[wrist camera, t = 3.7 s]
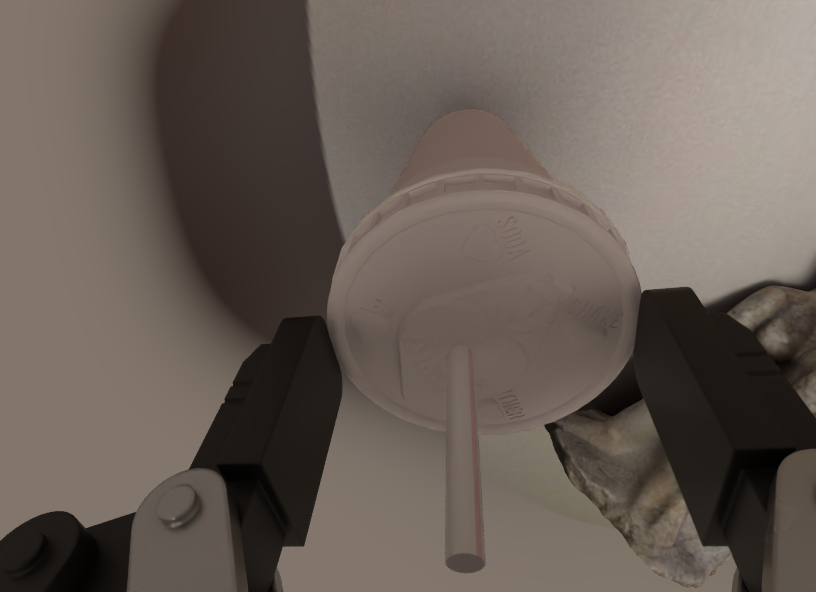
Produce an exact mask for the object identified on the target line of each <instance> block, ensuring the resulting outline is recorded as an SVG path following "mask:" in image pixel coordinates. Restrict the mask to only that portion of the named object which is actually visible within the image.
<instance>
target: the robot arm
mask: <svg viewBox="0 0 816 592" xmlns="http://www.w3.org/2000/svg"><path fill="white" fill-rule="evenodd" d="M634 369H635V375H636V379H637V383H638V386H639V388H640V391H641V393H642V396H643V398H644V401H645V403H646V406H647V408H648V411H649V413H650V416H651V418H652V421H653V423H654V426H655V428H656V431H657V433H658V436H659V438H660V441H661V443H662V446H663V448H664V451H665V453H666V456H667V458H668V461H669V463H670V466H671V468H672V471H673V473H674V476H675V478H676V481H677V483H678V486H679V488H680V491H681V493H682V496H683V498H684V501H685V503H686V506H687V508H688V511H689V513H690V516H691V518H692V521H693V523H694V526H695V528H696V531H697V533H698V536H699V538H700V541H701V543H702V546H728V547H729V549H730V552H731V554H732V556H733V558H734V561H735V563H736V565H737V569H736V571H735V574H734V578H733V584H732V592H816V417H815V416H814V415H813V413H812V412H811V411H810V409H809V408H808V407H807V405H806V404H805V403H804V401H803V400H802V399H801V397H800V396H799V395H798V393H797V392H796V390H795V389H794V388H793V386H792V385H791V384H790V382H789V381H788V380H787V378H786V377H785V376H784V375H781V373H780V369H779V368H778V366H777V365H776V363H775V362H774V361H773V359H772V358H771V357H770V356H767V351H766V350H765V349H764V347H763V346H762V345H761V343H760V342H759V341H758V339H757V338H756V337H755V335H754V334H753V332H752V331H751V330H750V329H749V328H747V327H746V326H744V325H743V324H741V323H740V322H738V321H737V320H735V319H734V318H732V317H731V316H729V315H728V314H726V313H725V312H716V313H708V312H707V311H706V309H705V308H704V306H703V305H702V303H701V302H700V300H699V299H698V297H697V296H696V294H695V293H694V291H693V290H692V289H691V288H689V287H679V288H666V289H654V290H645V291H643V293H642V295H641V299H640V306H639V314H638V322H637V330H636V338H635V346H634ZM341 398H342V376H341V370H340V367H339V364H338V361H337V357H336V354H335V351H334V348H333V345H332V342H331V339H330V336H329V333H328V330H327V327H326V324H325V321H324V319H323V318H322V317H321V316H307V317H295V318H285V319H283V320H282V322H281V323H280V325H279V328H278V330H277V332H276V334H275V337H274V338H273V341H272V343H271V344H261V345H260V346H259V347H258V348H257V349H256V350H255V351H254V352H253V353H252V354H251V355H250V356H249V357H248V358H247V359H246V360H245V361H244V362H243V363H242V365H241V367H240V369H239V371H238V373H237V375H236V377H235V379H234V381H233V386H232V387H230V389H229V391H228V393H227V395H226V397H225V403H223V404H222V405H221V407H220V409H219V411H218V413H217V415H216V417H215V419H214V421H213V423H212V425H211V427H210V429H209V431H208V433H207V435H206V437H205V439H204V440H203V443H202V445H201V447H200V449H199V451H198V452H197V454H196V456H195V458H194V460H193V462H192V464H191V467H190V468H189V470H186V471H183V472H180V473H178V474H175V475H174V476H171V477H170V478H168V479H166V480H165V481H164V482H162V483H161V484H159V485H158V486H157V487H156V488H155V489H154V490H152V491H151V492H150V493H149V495H148V496H147V497H146V498H145V499H144V501H143V502H142V504H141V505H140V506H139V508H138V510H137V512H134V513H131V514H129V515H125V516H122V517H119V518H116V519H113V520H110V521H107V522H104V523H101V524H98V525H94V526H91V527H89V528H85V527H84V526H83V525H82V524H81V523H80V522H79V521H78V520H77V519H76V518H75V517H74V516H73V515H72V514H70V513H68V512H64V511H55V512H49V513H45V514H42V515H39V516H37V517H34V518H32V519H30V520H29V521H27V522H25V523H23V524H21V525H20V526H19V527H17V528H15V529H14V530H13V531H12V532H10V533H9V534H7V535H6V536H5V537H4V538H3V539H2V540H1V541H0V592H283V587H282V582H281V577H280V574H279V571H278V570H277V564H278V561H279V557H280V554H281V551H282V547H284V546H304V544H305V540H306V536H307V533H308V529H309V525H310V521H311V517H312V513H313V509H314V505H315V501H316V497H317V493H318V489H319V485H320V481H321V477H322V473H323V469H324V465H325V461H326V457H327V453H328V450H329V445H330V442H331V438H332V434H333V430H334V426H335V421H336V418H337V414H338V410H339V406H340V402H341Z"/></svg>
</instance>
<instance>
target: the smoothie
mask: <svg viewBox="0 0 816 592" xmlns="http://www.w3.org/2000/svg"><path fill="white" fill-rule="evenodd" d="M641 295H642V293H641V288H640V283H639V280H638V278H637V275H636V272H635V270H634V268H633V266H632V264H631V262H630V258H629V254H628V251H627V247H626V243H625V242H624V240H623V239H622V237H621V236H620V234H619V233H618V232H617V230H616V229H615V227H614V226H613V224H612V223H611V222H610V220H609V219H608V217H607V216H606V214H605V213H604V212H603V211H602V210H601V209H599V208H598V207H597V206H595V205H594V204H593V203H591V202H590V201H589V200H587V199H586V198H585V197H583V196H582V195H580V194H579V193H578V192H576V191H575V190H574V189H572V188H571V187H569V186H567V185H564V184H561V183H558V182H556V181H554V180H553V179H552V178H551V176H550V175H549V174H548V173H547V172H546V171H545V169H544V168H543V167H542V166H541V165H540V163H539V162H538V161H537V160H536V159H535V157H534V156H533V155H532V154H531V153H530V152H529V150H528V149H527V148H526V147H525V146H524V144H523V143H522V142H521V141H520V140H519V138H518V137H517V136H516V135H515V134H514V133H513V131H512V130H511V129H510V128H509V127H508V126H507V124H506V123H504V122H503V121H502V120H501V119H499V118H498V117H496V116H495V115H493V114H490V113H488V112H485V111H481V110H474V109H467V110H459V111H455V112H452V113H449V114H447V115H445V116H443V117H441V118H440V119H438V120H437V121H436V122H435V123H433V124H432V125H431V126H430V127H429V129H428V130H427V131H426V132H425V134H424V135H423V137H422V139H421V141H420V142H419V144H418V146H417V148H416V149H415V151H414V153H413V155H412V156H411V158H410V160H409V162H408V163H407V165H406V167H405V169H404V170H403V172H402V174H401V176H400V177H399V179H398V181H397V183H396V184H395V186H394V188H393V190H392V191H391V193H390V195H389V197H388V198H387V199H386V200H384V201H383V202H382V203H381V204H379V205H378V206H377V207H375V208H374V209H373V210H372V211H370V212H369V213H368V214H367V215H365V216H364V217H363V218H362V220H361V221H360V223H359V224H358V226H357V227H356V228H355V230H354V231H353V233H352V234H351V236H350V237H349V238H348V240H347V241H346V243H345V244H344V246H343V247H342V249H341V252H340V256H339V259H338V262H337V265H336V269H335V272H334V275H333V278H332V286H331V290H330V294H329V298H328V307H327V326H328V333H329V336H330V339H331V342H332V345H333V348H334V351H335V354H336V357H337V360H338V362H339V364H340V365H341V367H342V369H343V370H344V372H345V373H346V375H347V376H348V377H349V379H350V380H351V381H352V382H353V383H354V385H355V386H356V387H357V388H358V389H359V390H360V391H361V392H362V393H363V394H365V395H366V396H367V397H368V398H369V399H371V400H372V401H373V402H374V403H376V404H377V405H379V406H380V407H381V408H383V409H385V410H386V411H388V412H390V413H392V414H394V415H396V416H398V417H399V418H401V419H403V420H406V421H409V422H411V423H414V424H417V425H419V426H422V427H425V428H428V429H433V430H438V431H442V432H446V516H445V520H446V521H445V564H446V566H447V567H448V568H449V569H451V570H453V571H455V572H460V573H474V572H477V571H480V570H482V569H483V568H484V567H485V565H486V562H485V545H484V527H483V526H484V525H483V507H482V489H481V471H480V453H479V435H499V434H507V433H513V432H519V431H524V430H529V429H532V428H536V427H539V426H542V425H545V424H548V423H551V422H554V421H556V420H558V419H560V418H562V417H564V416H567V415H568V414H570V413H573V412H575V411H577V410H578V409H579V408H581V407H582V406H584V405H586V404H587V403H589V402H590V401H591V400H593V399H594V398H595V397H597V396H598V395H599V394H600V393H601V392H602V391H604V390H605V389H606V388H607V387H608V386H609V385H610V384H611V383H612V382H613V381H614V380H615V378H616V377H617V376H618V375H619V373H620V372H621V371H622V369H623V368H624V367H625V365H626V363H627V362H628V360H629V358H630V357H631V355H632V353H633V350H634V346H635V338H636V330H637V322H638V314H639V306H640V299H641Z"/></svg>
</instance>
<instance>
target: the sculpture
mask: <svg viewBox="0 0 816 592" xmlns="http://www.w3.org/2000/svg"><path fill="white" fill-rule="evenodd" d="M726 314H728V315H729V316H731V317H732V318H734V319H735V320H737V321H738V322H740V323H741V324H743V325H744V326H746V327H747V328H749V329H750V330H751V331H752V332H753V334H754V335H755V337H756V338H757V339H758V341H759V342H760V343H761V345H762V346H763V347H764V349H765V350H766V351H767V356H770V357H771V358H772V359H773V361H774V362H775V363H776V365H777V366H778V368H779V369H780V373H781V375H784V376H785V377H786V378H787V380H788V381H789V382H790V384H791V385H792V386H793V388H794V389H795V390H796V392H797V393H798V395H799V396H800V397H801V399H802V400H803V401H804V403H805V404H806V405H807V407H808V408H809V409H810V411H811V412H812V413H813V415H814V416H815V417H816V288H815V289H814V290H812V291H810V292H806V291H802V290H798V289H793V288H788V287H782V286H775V285H771V286H768V287H765V288H763V289H761V290H759V291H757V292H755V293H753V294H751V295H750V296H748V297H747V298H746V299H744V300H743V301H741V302H740V303H739V304H737V305H736V306H735V307H734V308H732V309H731V310H730V311H729V312H727V313H726ZM544 426H545V428H546V430H547V431H548V432H549V434H550V436H551V439H552V442H553V446H554V449H555V451H556V453H557V455H558V458H559V460H560V461H561V463H562V465H563V467H564V471H565V473H566V474H567V476H568V478H569V480H570V481H571V483H572V484H573V485H574V486H575V487H576V488H577V489H578V490H579V491H580V492H582V493H584V494H585V495H586V496H587V497H588V498H589V499H590V500H591V501H592V502H593V503H594V504H595V505H596V506H597V507H598V508H599V510H600V511H601V513H602V515H603V516H604V517H605V518H606V519H608V520H609V521H610V522H611V523H612V524H613V526H614V527H615V528H616V529H618V530H619V531H620V533H621V534H622V535H623V536H624V538H625V539H626V541H627V543H628V544H629V546H630V547H631V549H632V550H633V551H634V552H635V553H636V555H637V556H638V557H639V558H640V559H641V560H642V561H643V562H644V563H645V564H646V565H647V566H648V567H649V568H650V569H651V570H652V571H654V572H655V573H656V574H658V575H659V576H662V577H664V578H666V579H670V580H673V581H675V582H677V583H679V584H680V585H682V586H685V587H695V588H697V587H701V586H702V584H703V583H704V582H705V580H706V579H707V578H708V577H709V576H711V575H714V574H715V572H716V570H717V568H718V567H719V566H721V565H722V564H723V563H724V562H725V561H727V560H728V559H729V558H730V557H732V554H731V552H730V549H729V547H728V546H702V543H701V541H700V538H699V536H698V533H697V531H696V528H695V526H694V523H693V521H692V518H691V516H690V513H689V511H688V508H687V506H686V503H685V501H684V498H683V496H682V493H681V491H680V488H679V486H678V483H677V481H676V478H675V476H674V473H673V471H672V468H671V466H670V463H669V461H668V458H667V456H666V453H665V451H664V448H663V446H662V443H661V441H660V438H659V436H658V433H657V431H656V428H655V426H654V423H653V421H652V418H651V416H650V413H649V411H648V408H647V406H646V403H645V401H644V398H642V400H640V401H639V402H637V403H635V404H633V405H631V406H629V407H627V408H626V409H624V410H622V411H621V412H619V413H618V414H616V415H615V416H609V415H607V414H605V413H603V412H601V411H598V410H594V409H591V410H585V411H575V412H573V413H570V414H568V415H567V416H564V417H562V418H560V419H558V420H556V421H554V422H551V423H548V424H545V425H544Z"/></svg>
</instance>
